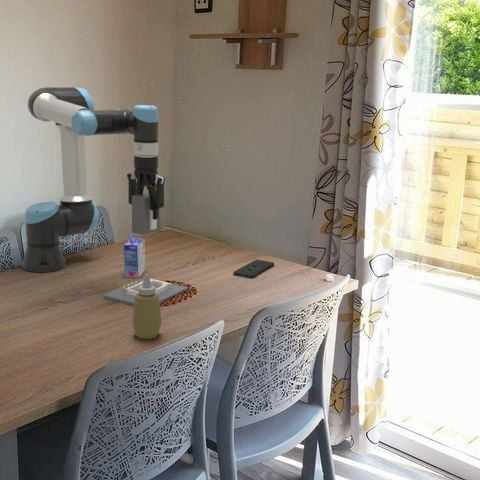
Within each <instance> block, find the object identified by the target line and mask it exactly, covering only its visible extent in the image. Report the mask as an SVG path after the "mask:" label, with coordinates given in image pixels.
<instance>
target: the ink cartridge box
mask: <svg viewBox="0 0 480 480" xmlns="http://www.w3.org/2000/svg"><path fill="white" fill-rule="evenodd" d="M128 238H129V240H128V241H126V242H125V243H124V244H123V258H124V259H123V260H124V276H125V278H135V279H138V278H140V277H141V275H143V273H144V272H145V271H146V252H145V248H146V247H145V246H146V245H145V238H140V237H138V238H137V237H134V235H133V233H131V234H129V235H128Z"/></svg>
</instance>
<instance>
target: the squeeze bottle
mask: <svg viewBox="0 0 480 480" xmlns="http://www.w3.org/2000/svg"><path fill="white" fill-rule="evenodd" d="M143 279H144V280H143V285H141V286H139V287H138V294H137V295H136V296H135V302H134V306H133V314H132V324H131V325H132V327H133V329H134V332H135V336H136V337H137V338H139V339H141V340H142V339H143V340H152V339H154V338H156V337H158V334H159V332H160V329H161V326H162V323H163V322H162V314H161V304H160V303H159V296H158V294H156V293H155V286H153V285H151V281H150V279H151V278H150V274H148V273H145V274H144V276H143Z"/></svg>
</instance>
